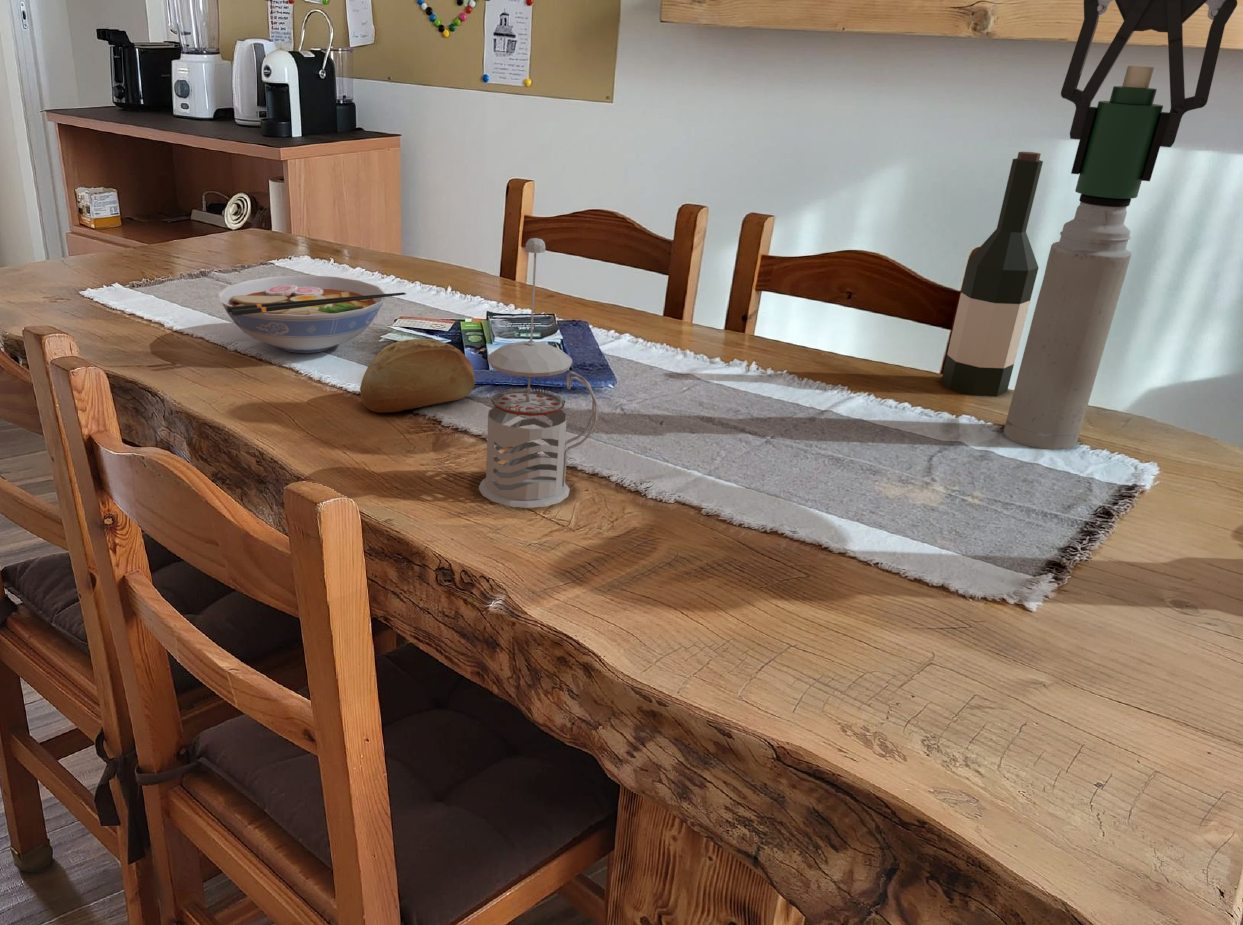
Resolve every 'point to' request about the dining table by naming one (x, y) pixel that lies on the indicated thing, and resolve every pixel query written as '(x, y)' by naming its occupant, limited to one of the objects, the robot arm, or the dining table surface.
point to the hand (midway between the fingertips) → (1110, 175)
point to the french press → (529, 423)
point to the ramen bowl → (303, 310)
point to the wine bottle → (996, 293)
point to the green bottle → (1121, 138)
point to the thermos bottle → (1070, 325)
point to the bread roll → (416, 376)
